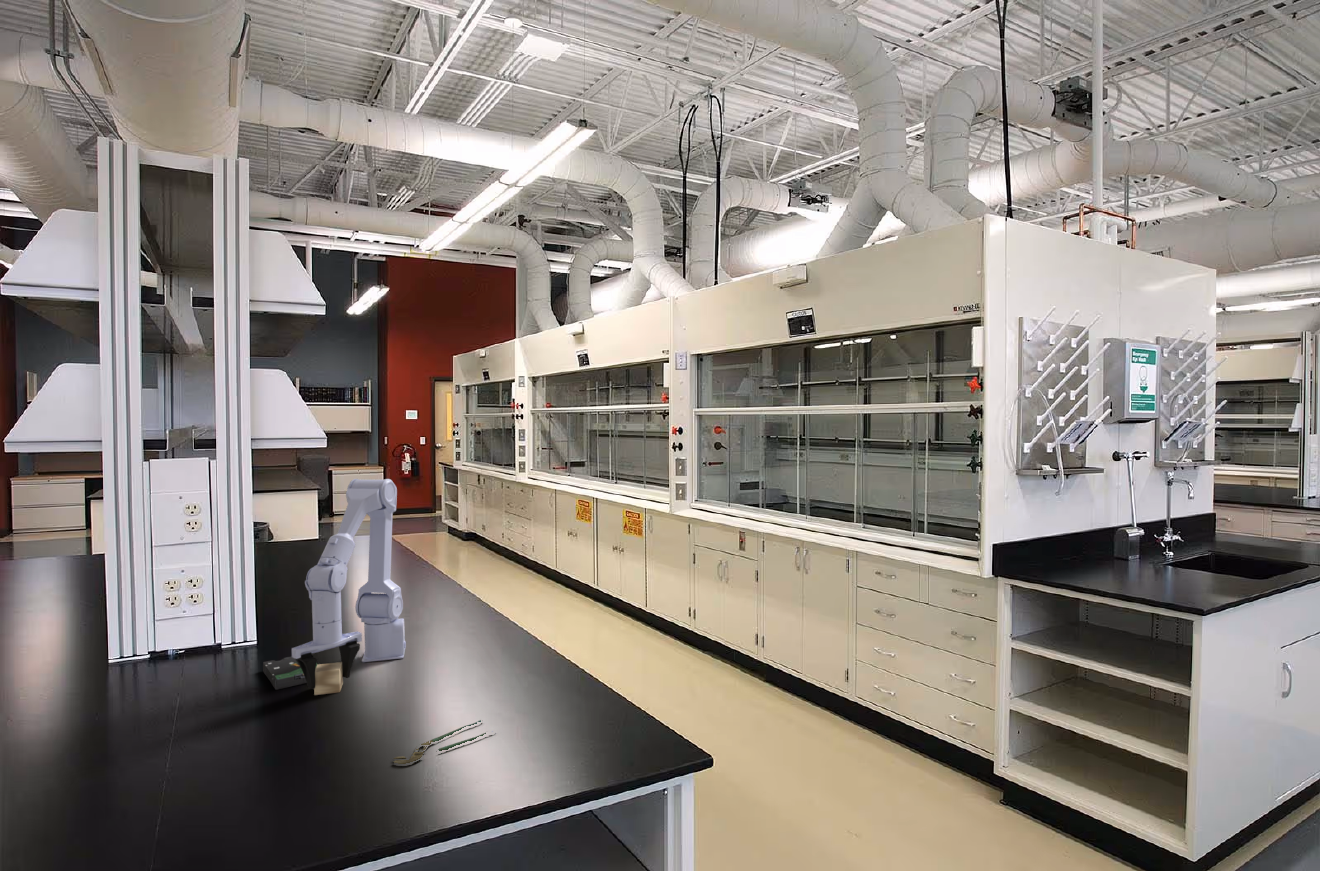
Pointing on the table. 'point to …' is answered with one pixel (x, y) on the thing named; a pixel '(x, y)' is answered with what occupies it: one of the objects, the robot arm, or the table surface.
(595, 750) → the table surface
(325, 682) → the maple cube
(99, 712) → the table surface
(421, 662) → the table surface
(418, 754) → the pliers
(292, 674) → the disk drive
